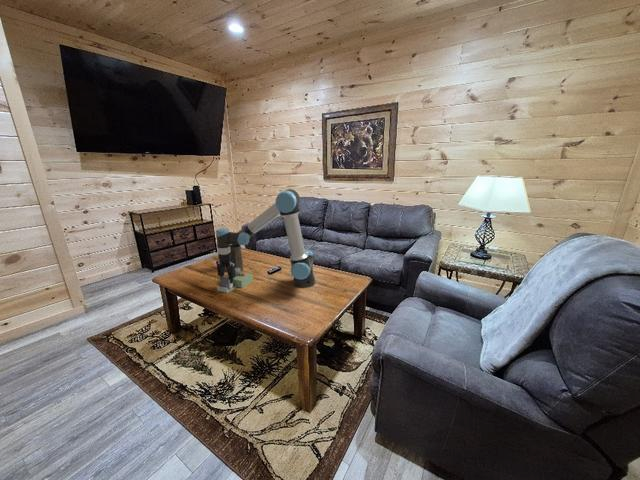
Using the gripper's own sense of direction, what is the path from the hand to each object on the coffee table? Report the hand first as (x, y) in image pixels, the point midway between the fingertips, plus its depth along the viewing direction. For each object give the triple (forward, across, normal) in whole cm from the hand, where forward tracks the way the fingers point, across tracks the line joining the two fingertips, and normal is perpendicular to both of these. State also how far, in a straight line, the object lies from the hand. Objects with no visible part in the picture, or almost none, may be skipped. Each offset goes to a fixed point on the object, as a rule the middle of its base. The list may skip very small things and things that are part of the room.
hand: (227, 286), depth 172 cm
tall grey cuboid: (0, 0, 0) cm, 0 cm away
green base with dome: (+1, 0, -6) cm, 6 cm away
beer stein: (+2, +18, -26) cm, 32 cm away
